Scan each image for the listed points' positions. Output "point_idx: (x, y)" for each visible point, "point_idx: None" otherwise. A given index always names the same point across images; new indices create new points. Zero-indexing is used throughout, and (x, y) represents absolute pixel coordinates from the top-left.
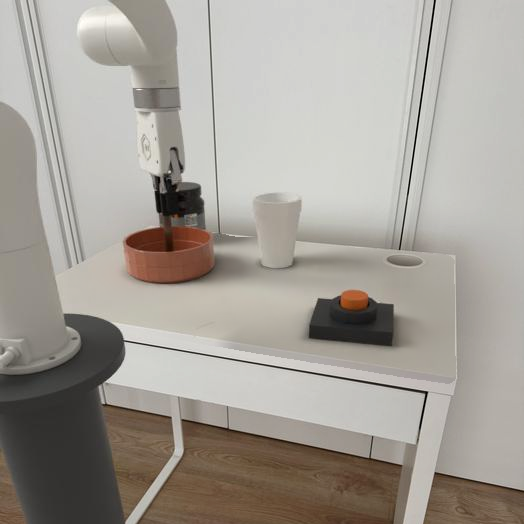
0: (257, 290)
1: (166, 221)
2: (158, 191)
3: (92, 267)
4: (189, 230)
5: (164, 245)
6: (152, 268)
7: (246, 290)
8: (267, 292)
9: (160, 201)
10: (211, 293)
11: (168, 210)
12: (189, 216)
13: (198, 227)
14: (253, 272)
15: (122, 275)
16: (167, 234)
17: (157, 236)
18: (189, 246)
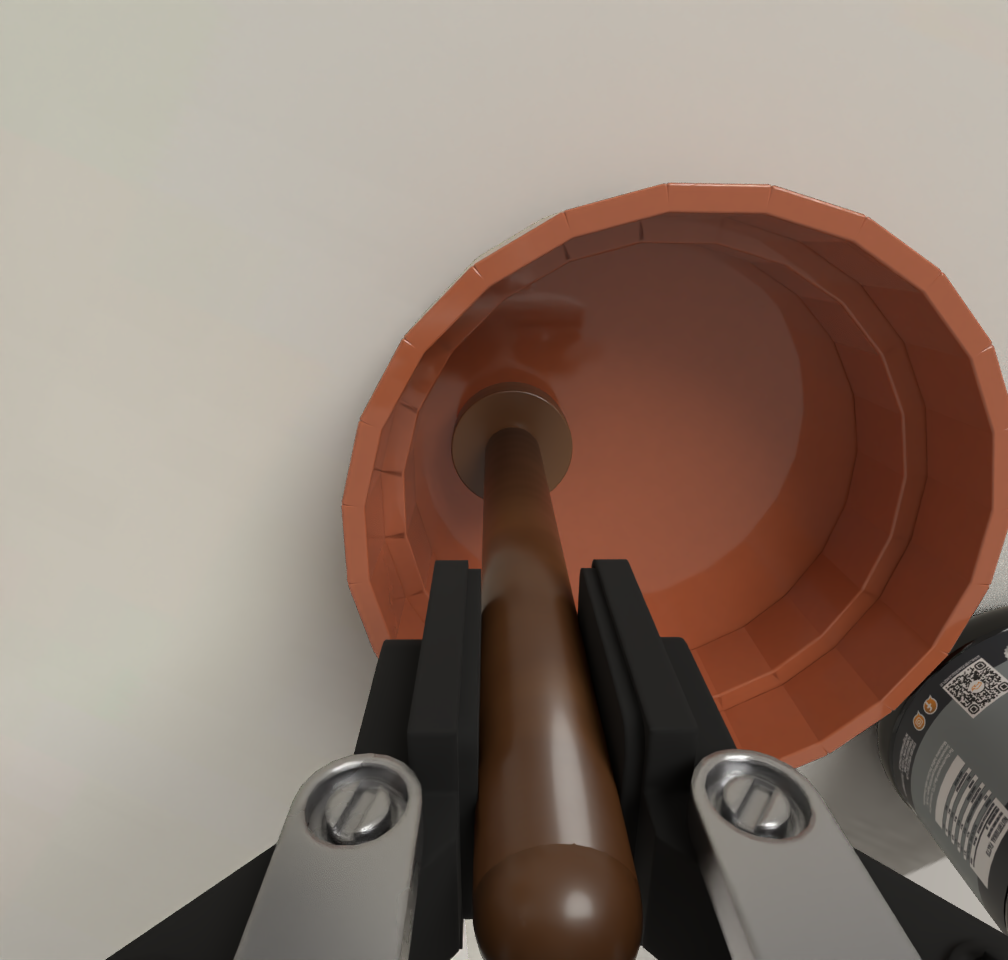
0: (115, 668)
1: (487, 564)
2: (638, 764)
3: (996, 28)
4: (798, 732)
5: (861, 547)
6: (444, 292)
7: (136, 632)
8: (74, 690)
9: (598, 671)
10: (171, 486)
11: (399, 640)
12: (989, 834)
13: (924, 810)
14: (334, 752)
15: (707, 165)
16: (490, 509)
17: (930, 545)
18: (747, 655)
